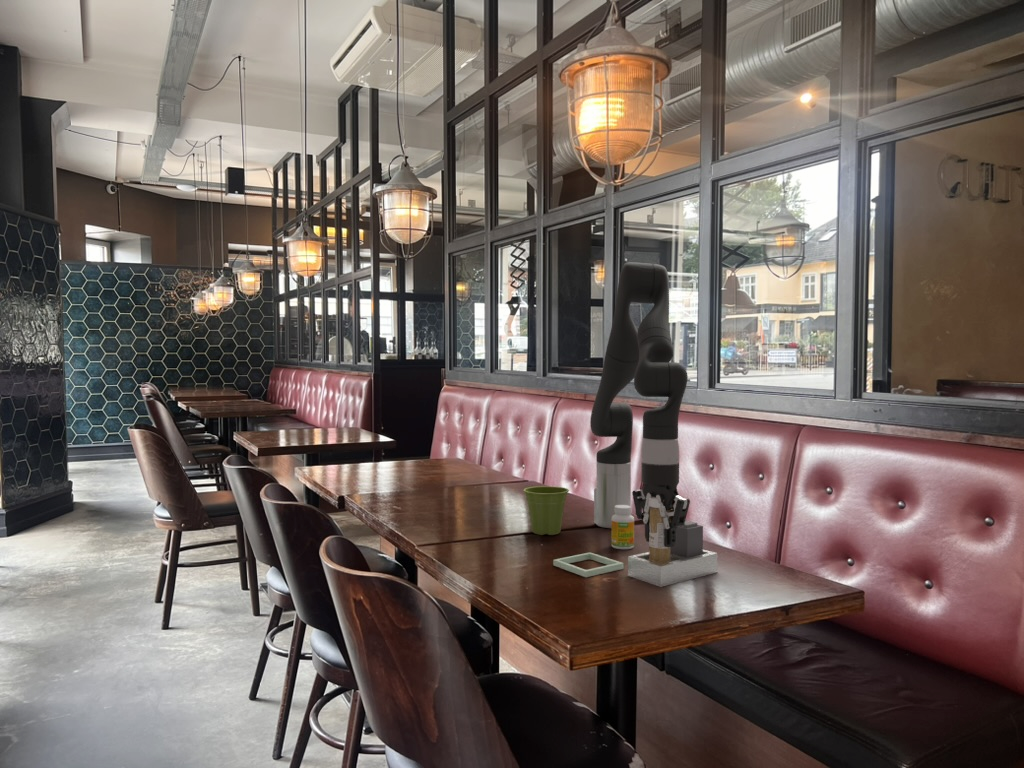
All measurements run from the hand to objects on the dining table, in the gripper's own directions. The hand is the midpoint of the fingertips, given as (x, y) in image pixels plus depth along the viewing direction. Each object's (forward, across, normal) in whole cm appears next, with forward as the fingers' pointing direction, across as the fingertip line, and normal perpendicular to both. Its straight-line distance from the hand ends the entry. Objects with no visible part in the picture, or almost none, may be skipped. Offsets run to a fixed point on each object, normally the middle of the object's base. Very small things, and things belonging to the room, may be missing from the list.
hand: (659, 543), depth 142 cm
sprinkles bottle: (+4, 0, 0) cm, 4 cm away
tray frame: (+7, +14, +7) cm, 17 cm away
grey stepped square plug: (+7, 0, -8) cm, 10 cm away
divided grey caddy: (+7, 0, -4) cm, 8 cm away
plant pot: (+7, +44, -5) cm, 45 cm away
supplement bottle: (+7, +22, -11) cm, 26 cm away
